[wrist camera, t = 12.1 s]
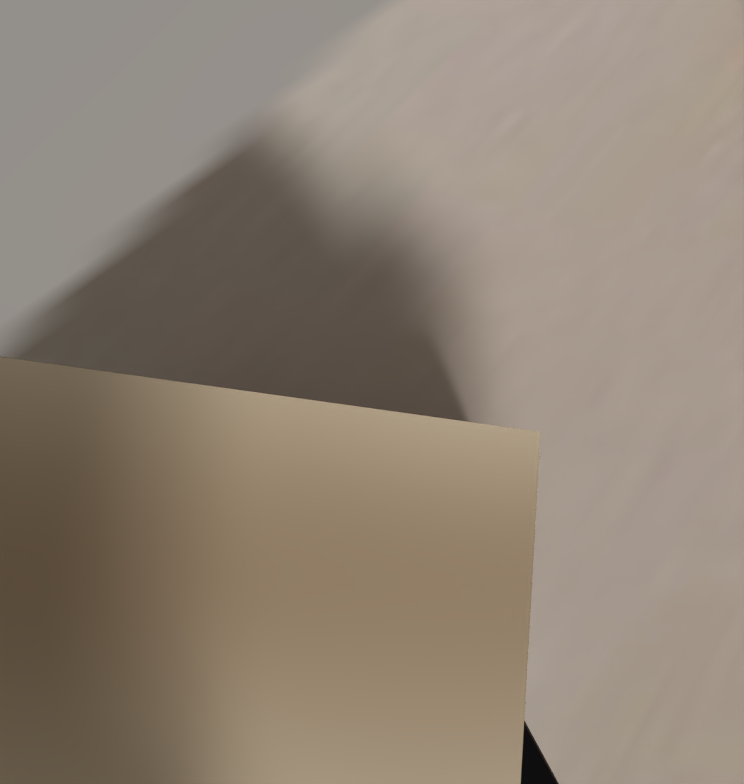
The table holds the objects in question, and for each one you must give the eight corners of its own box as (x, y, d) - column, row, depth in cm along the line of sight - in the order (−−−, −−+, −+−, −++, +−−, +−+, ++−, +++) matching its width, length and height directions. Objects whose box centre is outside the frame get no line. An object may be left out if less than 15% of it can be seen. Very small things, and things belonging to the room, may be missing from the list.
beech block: (382, 794, 13) (476, 1576, 3) (110, 755, 13) (-675, 1398, 3) (414, 515, 14) (541, 432, 5) (173, 481, 14) (-205, 328, 5)
